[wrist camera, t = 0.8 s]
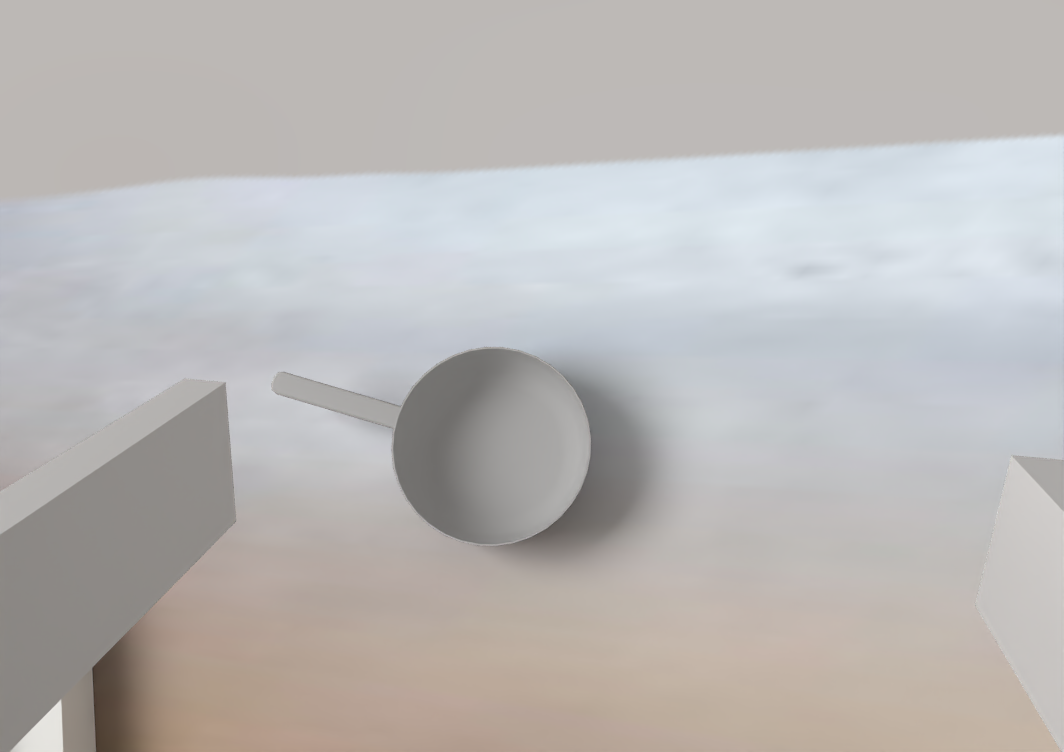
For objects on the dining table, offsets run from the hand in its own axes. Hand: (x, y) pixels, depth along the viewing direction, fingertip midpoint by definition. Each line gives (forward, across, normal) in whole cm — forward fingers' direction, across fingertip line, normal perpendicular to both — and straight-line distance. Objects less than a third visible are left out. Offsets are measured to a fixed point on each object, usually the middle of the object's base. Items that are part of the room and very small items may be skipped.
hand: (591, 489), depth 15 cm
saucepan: (+32, +11, +13) cm, 36 cm away
